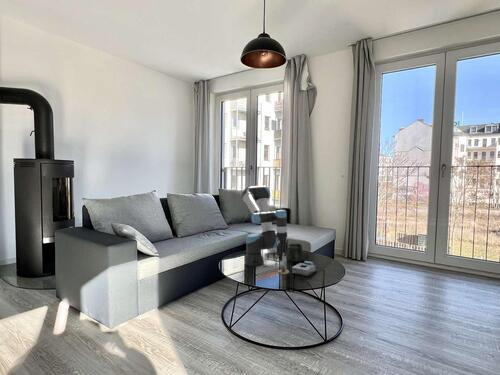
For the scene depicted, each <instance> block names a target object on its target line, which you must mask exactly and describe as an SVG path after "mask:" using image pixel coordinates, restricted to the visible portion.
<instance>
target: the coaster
mask: <svg viewBox="0 0 500 375" xmlns="http://www.w3.org/2000/svg"><path fill="white" fill-rule="evenodd" d="M277 273H278V274H280V275H287V274H289V273H290V270H288V269H286V271H281V269H279V270H277Z"/></svg>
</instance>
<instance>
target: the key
mask: <svg viewBox="0 0 500 375" xmlns="http://www.w3.org/2000/svg"><path fill="white" fill-rule="evenodd" d="M287 255H288V253H287V254H285V252H283V259H284V265H280V270H281V271H286V270H287V268H286V265H287V264H285V256H286V257H288V256H287Z"/></svg>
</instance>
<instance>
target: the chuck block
mask: <svg viewBox="0 0 500 375" xmlns="http://www.w3.org/2000/svg"><path fill="white" fill-rule="evenodd" d="M314 272H316V265H314V262H313V261H307V260H305V261H303V263H302V262H299V263H296V265H294V266H292V267H291V273H292V274H296V275H301V276H306V277H308V276H310V275H312V274H314Z"/></svg>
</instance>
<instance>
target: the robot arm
mask: <svg viewBox="0 0 500 375" xmlns="http://www.w3.org/2000/svg"><path fill="white" fill-rule="evenodd" d="M270 198H271V192H270V189H269V187H268V186H267V185H254V186H247V187H246V188H244V190H243V191H242V193H241V199H242V202H244V203H245V204H246V206H247V207H248V210H249V212H250V213H251V223H252V224H261V229H262V232H261V233H259V232H256V233H250V234H248V235H247V236H246V238H245V244H246V255H245V260H244V265H245V264H246V265H245V266H247V265H248V266H247V267H260V266H263V265H264V264H265V260H264V256H263V255H262V251H263V250H267V249H273V248H277V252H276V254H277V256H278V257H279V266H281V265H284V259H283V252H285V254H287V255H288V254H289V253H288V252H289V249H288V248H289V246H288V245H289V239H288V227H287V226H288V223H287V222H288V221H287V219H288V217H287V216H288V215H287V210H285V209H278V210H271V211H270V208H269V201H270ZM273 222H274V223H275V224H276V226H275V227H276V230H275V229H274V228H273V227H274V226H273ZM276 232H277V233H276ZM285 265H287V256H285Z"/></svg>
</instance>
